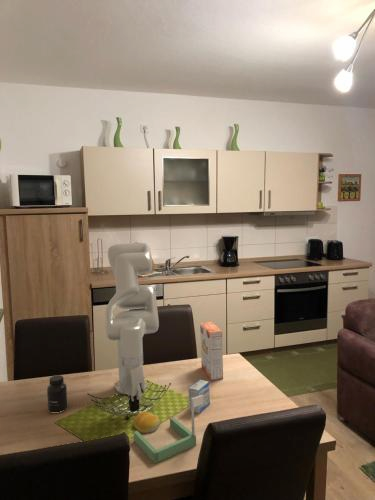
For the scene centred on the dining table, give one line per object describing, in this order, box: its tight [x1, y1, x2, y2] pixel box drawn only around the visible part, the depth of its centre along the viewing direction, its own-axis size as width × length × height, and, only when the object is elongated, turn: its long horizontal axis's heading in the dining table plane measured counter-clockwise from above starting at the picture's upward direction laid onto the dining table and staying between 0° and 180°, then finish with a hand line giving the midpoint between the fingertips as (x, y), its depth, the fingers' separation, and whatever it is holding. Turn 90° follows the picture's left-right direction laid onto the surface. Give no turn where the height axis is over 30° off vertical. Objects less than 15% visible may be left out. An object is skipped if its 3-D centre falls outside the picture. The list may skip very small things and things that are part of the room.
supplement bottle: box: [46, 374, 69, 413], centre depth 140 cm, size 7×7×12 cm
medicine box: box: [187, 379, 211, 414], centre depth 139 cm, size 8×4×9 cm, turn 148°
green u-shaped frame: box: [133, 395, 203, 464], centre depth 119 cm, size 13×18×15 cm
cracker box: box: [199, 321, 224, 381], centre depth 167 cm, size 14×6×21 cm, turn 14°
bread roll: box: [132, 411, 161, 434], centre depth 129 cm, size 8×9×4 cm
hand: (134, 409), depth 136 cm, fingers closed
